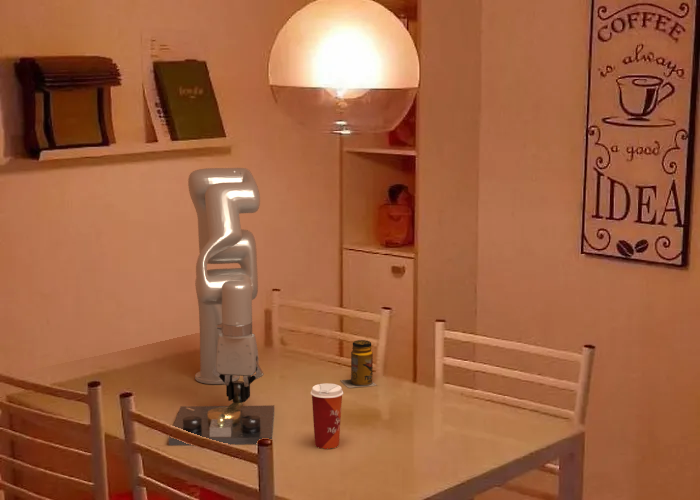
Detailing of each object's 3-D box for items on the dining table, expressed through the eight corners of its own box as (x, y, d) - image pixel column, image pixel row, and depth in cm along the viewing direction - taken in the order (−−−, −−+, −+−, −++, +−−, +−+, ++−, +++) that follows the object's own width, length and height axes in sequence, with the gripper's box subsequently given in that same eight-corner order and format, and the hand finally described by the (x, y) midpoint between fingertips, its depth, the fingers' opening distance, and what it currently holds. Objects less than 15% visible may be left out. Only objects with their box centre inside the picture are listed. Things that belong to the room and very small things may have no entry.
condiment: (377, 385, 291) (377, 344, 289) (348, 388, 288) (348, 346, 286) (368, 378, 298) (368, 337, 296) (340, 381, 295) (340, 340, 293)
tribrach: (180, 412, 267) (180, 391, 266) (274, 411, 268) (274, 390, 268) (168, 445, 244) (168, 422, 243) (271, 444, 245) (271, 421, 244)
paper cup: (339, 451, 240) (339, 393, 238) (307, 449, 241) (306, 391, 239) (346, 440, 247) (346, 383, 245) (315, 438, 249) (314, 381, 247)
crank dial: (233, 426, 251) (233, 400, 250) (202, 423, 253) (201, 397, 252) (255, 407, 266) (255, 382, 265) (226, 404, 268) (225, 379, 267)
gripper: (201, 331, 260) (202, 402, 263) (264, 334, 257) (265, 406, 260) (211, 324, 267) (212, 393, 270) (272, 327, 264) (273, 397, 267)
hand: (238, 399), depth 265 cm, fingers closed on crank dial, 3 cm apart
